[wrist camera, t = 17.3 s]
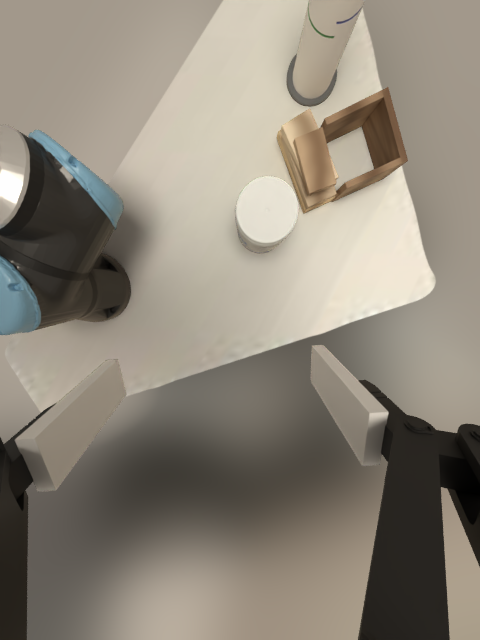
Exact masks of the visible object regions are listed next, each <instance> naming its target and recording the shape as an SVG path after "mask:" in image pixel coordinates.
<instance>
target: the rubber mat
mask: <svg viewBox="0 0 480 640" xmlns="http://www.w3.org/2000/svg"><path fill="white" fill-rule="evenodd" d="M296 57H297V54H296V55H295V57H294V58H293V60H292V61H291V63H290V66H289V69H288V73H287V87H288V90H289V93H290V95H291V96H292V98H293V99H294V100H295V101H296V102H297V103H299V104H301V105H303V106H315V105H318V104H320V103H322V102H323V101H324V100H325V99H327V97H328V96H329V95H330V93H331V92H332V90H333V88H334V85H335V82H336V77H337V68H336V71H335V73H334V75H333V78H332V80H331V83H330V85H329V87H328V89H327V90H326V91H325V92H324V93H323V94H322V95H321V96H319V97H317V98H313V99H307V98H304V97H302V96H301V95H300V94H299V93H298V92H297V91H296V90H295V87H294V85H293V71H294V66H295V61H296Z"/></svg>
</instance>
